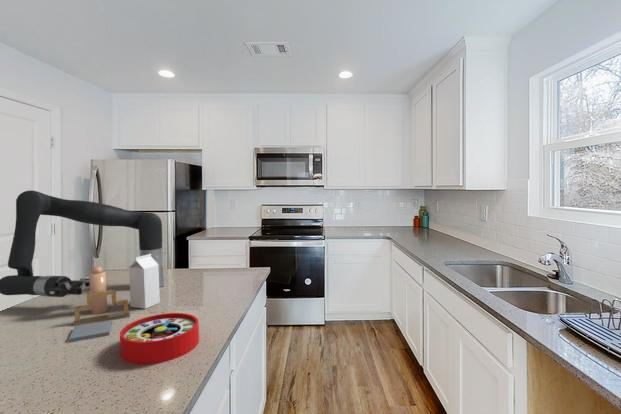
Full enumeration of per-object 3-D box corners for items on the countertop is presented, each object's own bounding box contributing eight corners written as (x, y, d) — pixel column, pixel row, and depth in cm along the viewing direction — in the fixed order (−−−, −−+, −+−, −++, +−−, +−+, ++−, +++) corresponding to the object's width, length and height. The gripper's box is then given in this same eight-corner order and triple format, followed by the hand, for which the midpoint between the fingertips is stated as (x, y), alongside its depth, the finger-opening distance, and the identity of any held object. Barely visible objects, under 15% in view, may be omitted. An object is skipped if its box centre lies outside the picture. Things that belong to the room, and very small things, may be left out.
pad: (111, 323, 110) (111, 320, 110) (109, 335, 101) (109, 331, 101) (75, 329, 105) (74, 326, 105) (68, 342, 96) (68, 338, 96)
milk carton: (160, 303, 129) (158, 254, 128) (145, 309, 122) (143, 258, 121) (145, 301, 131) (143, 253, 130) (130, 307, 125) (128, 256, 124)
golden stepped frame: (129, 314, 118) (128, 287, 117) (129, 316, 115) (128, 289, 115) (75, 322, 111) (73, 294, 110) (73, 325, 108) (71, 296, 108)
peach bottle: (108, 307, 124) (105, 265, 124) (106, 312, 120) (104, 268, 119) (92, 310, 122) (89, 266, 121) (90, 314, 118) (87, 269, 117)
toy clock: (103, 343, 83) (142, 313, 103) (104, 366, 84) (142, 331, 104) (184, 341, 84) (207, 312, 104) (184, 364, 84) (207, 330, 104)
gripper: (33, 281, 117) (73, 283, 114) (69, 271, 131) (105, 272, 128) (34, 302, 117) (74, 304, 114) (70, 290, 131) (106, 291, 128)
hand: (91, 287), depth 121 cm, fingers open, 8 cm apart
